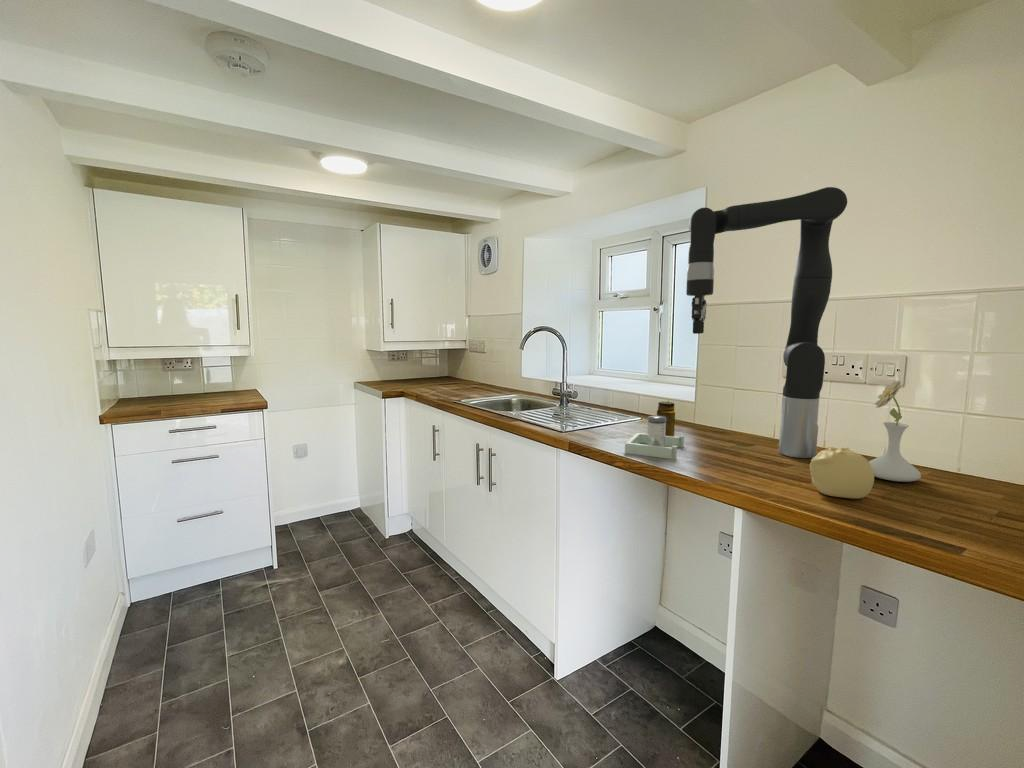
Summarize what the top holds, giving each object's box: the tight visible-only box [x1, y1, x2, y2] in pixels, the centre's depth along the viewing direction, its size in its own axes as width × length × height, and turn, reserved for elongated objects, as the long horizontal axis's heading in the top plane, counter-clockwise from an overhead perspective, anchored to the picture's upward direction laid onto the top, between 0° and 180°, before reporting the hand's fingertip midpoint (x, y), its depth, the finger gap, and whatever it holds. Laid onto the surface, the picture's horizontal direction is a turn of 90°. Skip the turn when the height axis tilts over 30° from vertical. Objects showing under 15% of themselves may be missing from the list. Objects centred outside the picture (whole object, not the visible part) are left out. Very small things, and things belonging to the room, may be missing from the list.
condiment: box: [656, 401, 679, 437], centre depth 162 cm, size 7×8×12 cm
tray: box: [624, 432, 685, 460], centre depth 145 cm, size 15×16×4 cm
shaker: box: [646, 415, 666, 447], centre depth 145 cm, size 5×5×10 cm
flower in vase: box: [868, 379, 922, 483], centre depth 116 cm, size 13×11×25 cm
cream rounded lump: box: [809, 446, 875, 499], centre depth 106 cm, size 11×12×11 cm
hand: (698, 333), depth 144 cm, fingers open, 8 cm apart
